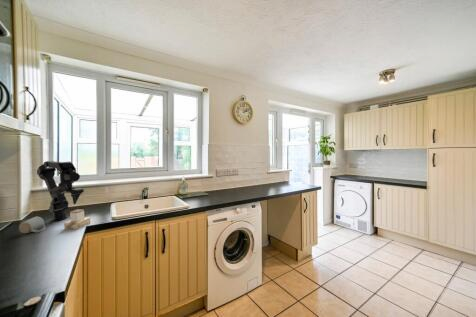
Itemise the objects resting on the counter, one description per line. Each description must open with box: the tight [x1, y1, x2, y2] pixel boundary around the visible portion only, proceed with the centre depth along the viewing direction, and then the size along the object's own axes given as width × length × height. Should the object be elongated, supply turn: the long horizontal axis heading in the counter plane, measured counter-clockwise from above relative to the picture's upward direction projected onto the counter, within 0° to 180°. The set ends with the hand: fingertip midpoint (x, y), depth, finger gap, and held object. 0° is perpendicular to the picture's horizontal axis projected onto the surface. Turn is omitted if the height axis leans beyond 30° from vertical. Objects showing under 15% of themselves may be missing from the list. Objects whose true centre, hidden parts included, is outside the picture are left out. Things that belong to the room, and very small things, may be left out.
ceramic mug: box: [18, 216, 46, 234], centre depth 116 cm, size 11×8×8 cm
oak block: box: [63, 217, 91, 230], centre depth 122 cm, size 9×9×4 cm
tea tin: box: [69, 208, 86, 222], centre depth 122 cm, size 5×5×6 cm
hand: (68, 204), depth 129 cm, fingers open, 9 cm apart
